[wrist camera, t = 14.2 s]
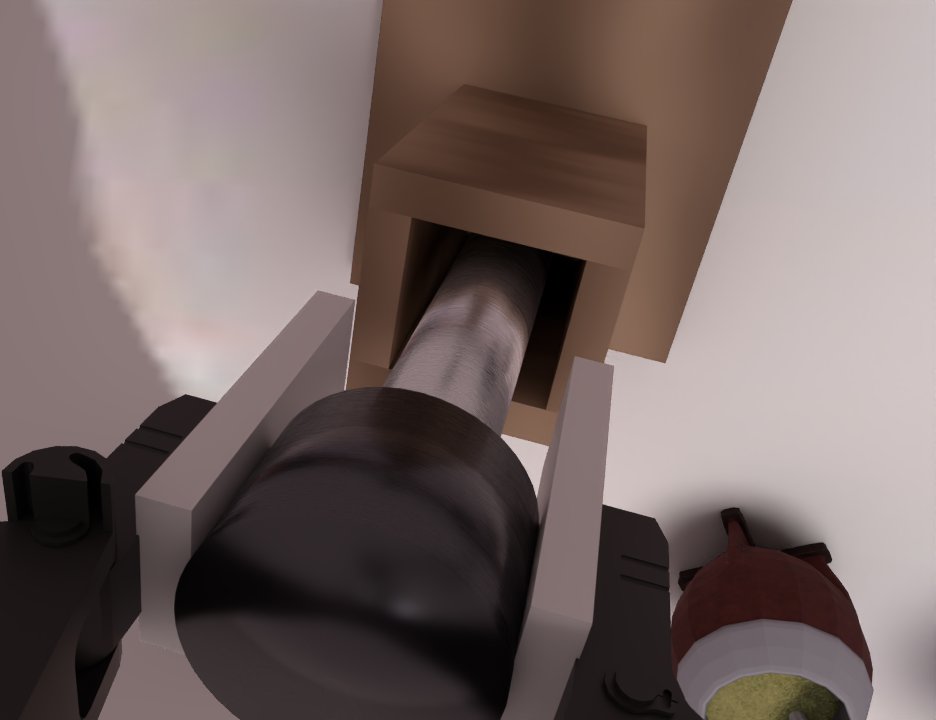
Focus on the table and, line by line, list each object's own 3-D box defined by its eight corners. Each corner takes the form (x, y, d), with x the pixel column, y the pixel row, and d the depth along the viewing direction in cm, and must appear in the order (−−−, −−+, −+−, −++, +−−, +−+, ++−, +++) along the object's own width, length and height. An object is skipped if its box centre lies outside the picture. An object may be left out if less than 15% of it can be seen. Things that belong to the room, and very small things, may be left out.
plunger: (613, 157, 25) (545, 578, 9) (578, 286, 27) (473, 807, 11) (474, 125, 25) (173, 473, 9) (450, 254, 28) (174, 716, 12)
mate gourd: (644, 520, 35) (640, 872, 22) (837, 474, 32) (962, 848, 19) (700, 644, 38) (726, 1024, 25) (883, 612, 35) (1020, 1022, 22)
